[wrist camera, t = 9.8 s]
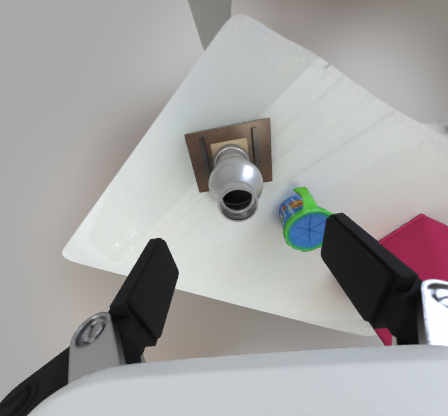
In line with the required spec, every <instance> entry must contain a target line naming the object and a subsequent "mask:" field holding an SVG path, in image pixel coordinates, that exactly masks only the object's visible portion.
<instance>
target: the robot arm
mask: <svg viewBox="0 0 448 416" xmlns="http://www.w3.org/2000/svg"><path fill="white" fill-rule="evenodd" d="M321 257H322V259H323V261H324V262H325V264H326V265H327V267H328V268H329V270H330V271H331V272H332V274H333V275H334V277H335V278H336V280H337V281H338V283H339V284H340V286H341V287H342V289H343V290H344V292H345V293H346V295H347V296H348V297H349V299H350V300H351V302H352V303H353V305H354V306H355V308H356V309H357V311H358V312H359V314H360V315H361V317H362V318H363V319H364V320H365V321H368V322H369V323H370V325H371V326H372V327H373V329H381V328H387V329H388V331H389V332H390V333H391V334H392V346H373V347H356V348H340V349H324V350H309V351H293V352H279V353H265V354H250V355H237V356H222V357H209V358H195V359H181V360H168V361H157V362H145V359H144V355H143V352H144V349H145V347H148V346H156V342H157V339H158V338H160V337H161V334H162V331H163V328H164V324H165V320H166V317H167V314H168V310H169V307H170V303H171V300H172V296H173V293H174V289H175V286H176V282H177V279H178V275H179V271H178V268H177V266H176V264H175V262H174V259H173V257H172V255H171V253H170V250H169V248H168V246H167V244H166V242H165V240H162V239H161V238H155V239H150V240H149V242H148V244H147V245H146V247H145V249H144V250H143V252H142V254H141V255H140V257H139V259H138V260H137V262H136V264H135V265H134V267H133V269H132V270H131V272H130V274H129V275H128V277H127V279H126V280H125V282H124V284H123V285H122V287H121V289H120V290H119V292H118V294H117V295H116V297H115V299H114V300H113V302H112V303H111V305H110V310H109V311H108V313H107V312H100V313H97V314H95V315H93V316H91V317H90V318H89V319H87V320H86V321H84V323H82V324H81V325H80V326H79V328H78V329H77V330H76V332H75V333H74V335H73V337H72V339H71V342H70V346H69V347H68V348H67V349H66V350H64V351H63V352H61V353H60V354H59V355H58V356H56V357H55V358H53V359H52V360H51V361H50V362H48V363H47V364H46V365H44V366H43V367H42V368H40V369H39V370H38V371H36V372H35V373H34V374H32V375H31V376H30V377H28V378H27V379H26V380H24V381H23V382H22V383H20V384H19V385H18V386H17V387H15V388H14V389H13V390H12V391H11V392H10V393H9V394H8V395H7V396H6V397H5V398H4V399H3V400H2V402H1V403H0V416H448V282H447V281H443V280H436V279H430V280H425V281H424V282H423V281H422V280H421V279H420V278H419V277H418V276H419V275H418V274H417V273H416V272H414V271H413V270H412V269H411V268H410V267H408V266H407V265H406V264H405V263H403V262H402V261H401V260H400V259H399V258H397V257H396V256H395V255H394V254H392V253H391V252H390V251H389V250H388V249H386V248H385V247H384V246H383V245H382V244H380V243H379V242H378V241H377V240H375V239H374V238H373V237H372V236H371V235H369V234H368V233H367V232H366V231H365V230H363V229H362V228H361V227H360V226H358V225H357V224H356V223H355V222H354V221H352V220H351V219H350V218H349V217H348V216H346V215H345V214H344V213H337V214H331V215H330V216H329V217H328V218H326V223H325V229H324V236H323V242H322V248H321Z"/></svg>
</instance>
